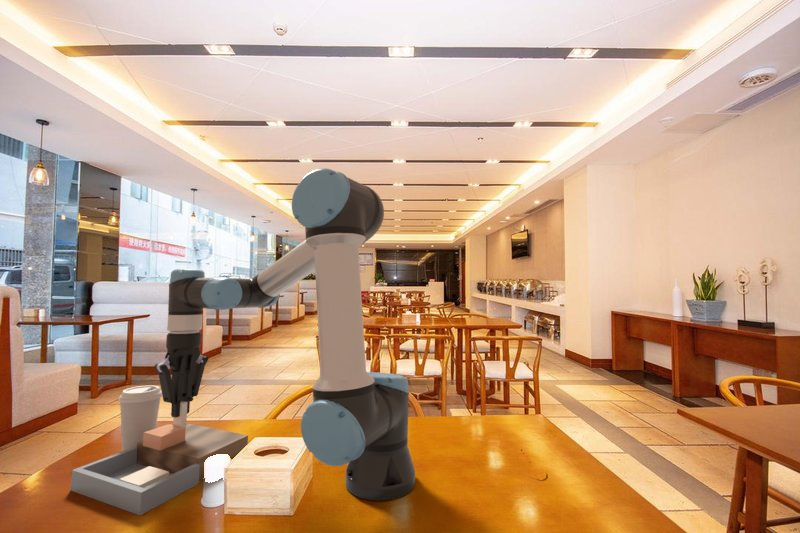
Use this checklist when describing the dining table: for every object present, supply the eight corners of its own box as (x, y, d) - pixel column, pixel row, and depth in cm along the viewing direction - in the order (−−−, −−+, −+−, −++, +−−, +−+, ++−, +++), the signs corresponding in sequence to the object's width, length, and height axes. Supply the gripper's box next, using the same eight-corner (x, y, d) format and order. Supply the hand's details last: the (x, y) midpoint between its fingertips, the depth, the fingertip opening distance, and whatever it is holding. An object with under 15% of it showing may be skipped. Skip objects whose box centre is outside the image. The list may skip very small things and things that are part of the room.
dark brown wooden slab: (247, 456, 92) (248, 435, 92) (197, 482, 79) (198, 458, 79) (189, 442, 100) (190, 423, 100) (135, 464, 87) (136, 442, 87)
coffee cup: (136, 458, 90) (140, 395, 91) (104, 454, 92) (108, 392, 93) (168, 443, 99) (172, 385, 100) (138, 439, 101) (142, 383, 102)
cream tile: (139, 485, 71) (138, 501, 71) (169, 471, 77) (168, 486, 76) (119, 479, 73) (118, 494, 73) (149, 466, 79) (148, 480, 79)
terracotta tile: (185, 440, 89) (185, 427, 89) (160, 450, 83) (161, 436, 83) (168, 436, 91) (168, 424, 91) (142, 445, 85) (143, 432, 86)
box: (198, 483, 79) (199, 464, 79) (139, 515, 67) (141, 492, 68) (133, 464, 87) (134, 447, 87) (70, 490, 75) (72, 470, 76)
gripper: (197, 328, 99) (192, 418, 98) (148, 333, 87) (142, 436, 86) (217, 330, 97) (213, 423, 95) (170, 335, 85) (163, 441, 83)
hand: (179, 429), depth 91 cm, fingers closed
